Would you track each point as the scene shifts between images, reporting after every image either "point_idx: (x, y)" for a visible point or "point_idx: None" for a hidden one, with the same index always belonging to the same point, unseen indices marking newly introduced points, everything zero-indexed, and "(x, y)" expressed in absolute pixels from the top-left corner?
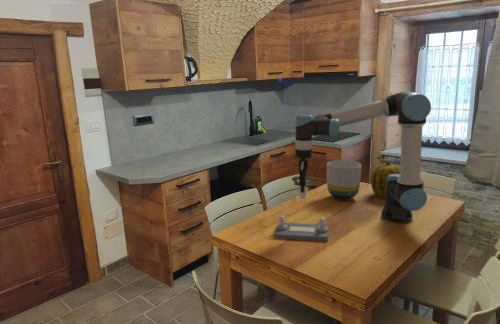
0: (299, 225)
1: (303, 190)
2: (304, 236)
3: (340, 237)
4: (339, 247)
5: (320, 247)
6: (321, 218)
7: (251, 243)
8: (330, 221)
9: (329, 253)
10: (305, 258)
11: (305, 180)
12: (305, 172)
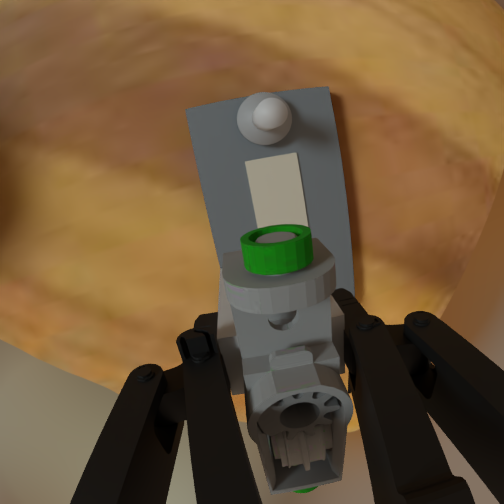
0: (238, 237)
1: (354, 300)
2: (344, 186)
3: (265, 44)
4: (358, 45)
5: (382, 112)
6: (271, 118)
7: None
8: (99, 124)
9: (412, 80)
10: (458, 157)
11: (337, 361)
12: (412, 466)
